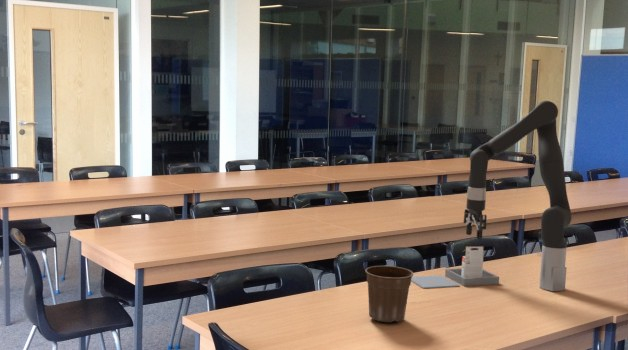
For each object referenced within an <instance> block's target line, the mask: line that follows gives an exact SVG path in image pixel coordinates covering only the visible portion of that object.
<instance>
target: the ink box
mask: <svg viewBox="0 0 628 350" xmlns="http://www.w3.org/2000/svg"><path fill="white" fill-rule="evenodd" d="M461 257H462V259H461V268H462V272H461V276H462V277H464V278H476V277H482V270H483V268H484V267H483V266H484V246H483V245H482V246H480V245H477V246H470V245H469V246H465V255H463V256H461Z"/></svg>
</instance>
